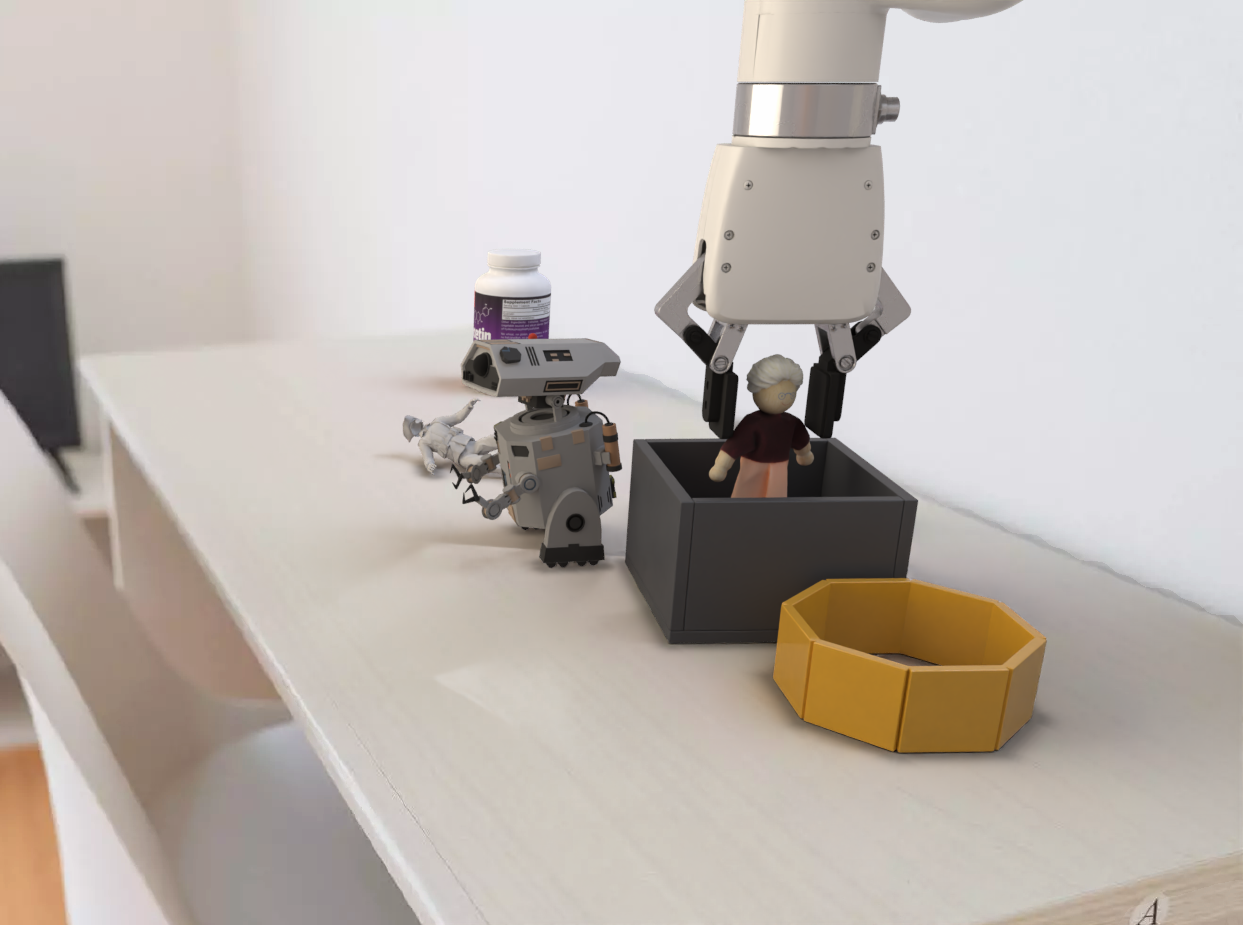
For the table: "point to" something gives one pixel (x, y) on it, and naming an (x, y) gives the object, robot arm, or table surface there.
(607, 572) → the table surface
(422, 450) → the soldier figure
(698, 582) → the bin
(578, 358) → the figurine
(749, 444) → the grandmother figurine
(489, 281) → the pill bottle
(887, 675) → the yellow octagonal ring
